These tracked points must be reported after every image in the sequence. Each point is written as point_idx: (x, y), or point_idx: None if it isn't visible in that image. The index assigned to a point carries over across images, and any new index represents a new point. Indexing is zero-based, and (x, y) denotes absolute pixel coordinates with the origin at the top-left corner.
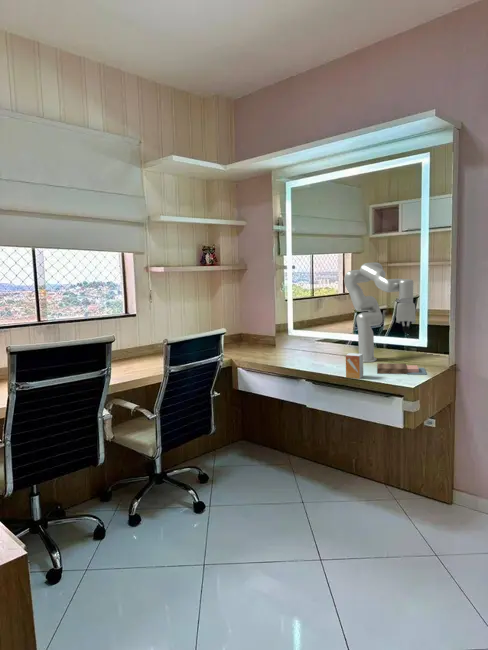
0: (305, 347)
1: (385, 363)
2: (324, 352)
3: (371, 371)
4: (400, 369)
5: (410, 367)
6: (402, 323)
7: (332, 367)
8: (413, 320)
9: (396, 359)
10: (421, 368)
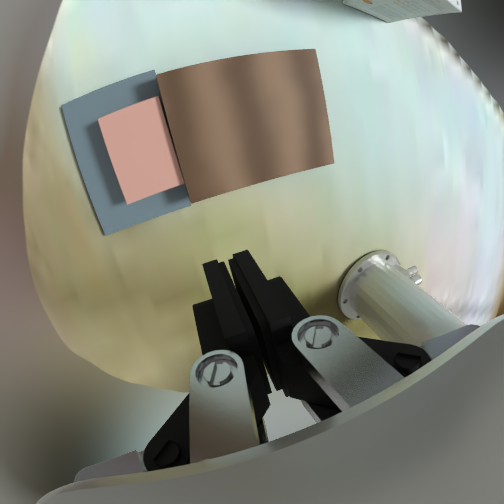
0: None
1: (297, 171)
2: None
3: (333, 90)
4: (192, 65)
5: (148, 139)
6: (365, 350)
7: (449, 139)
8: (53, 492)
9: None
10: (111, 215)
